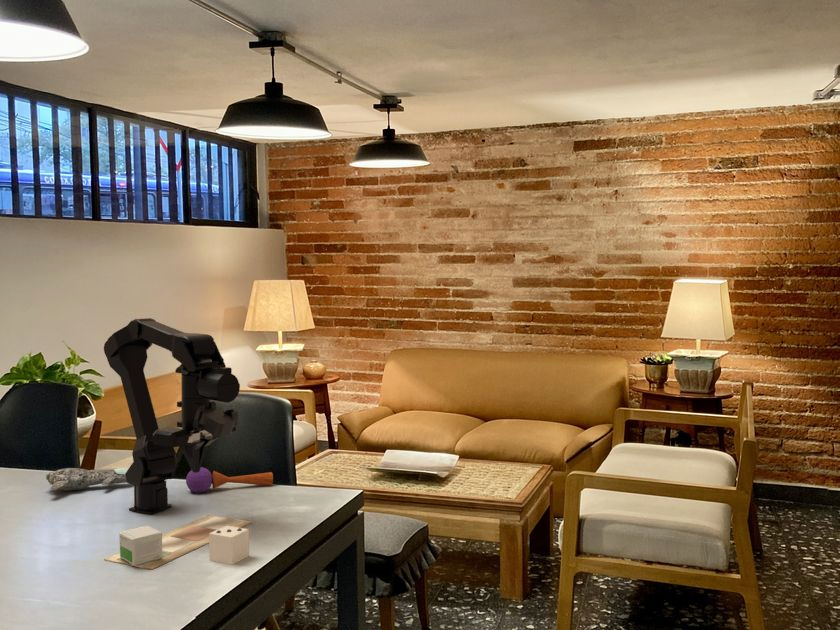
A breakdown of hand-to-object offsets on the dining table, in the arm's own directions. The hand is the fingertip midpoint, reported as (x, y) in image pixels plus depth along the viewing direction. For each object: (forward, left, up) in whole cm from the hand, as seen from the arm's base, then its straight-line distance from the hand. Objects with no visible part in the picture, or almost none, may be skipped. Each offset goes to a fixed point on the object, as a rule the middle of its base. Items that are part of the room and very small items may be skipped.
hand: (196, 472), depth 168 cm
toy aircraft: (-40, +11, -11) cm, 42 cm away
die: (+18, -13, -11) cm, 25 cm away
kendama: (-10, +25, -11) cm, 29 cm away
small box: (+5, -21, -11) cm, 24 cm away
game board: (+4, -9, -11) cm, 15 cm away
